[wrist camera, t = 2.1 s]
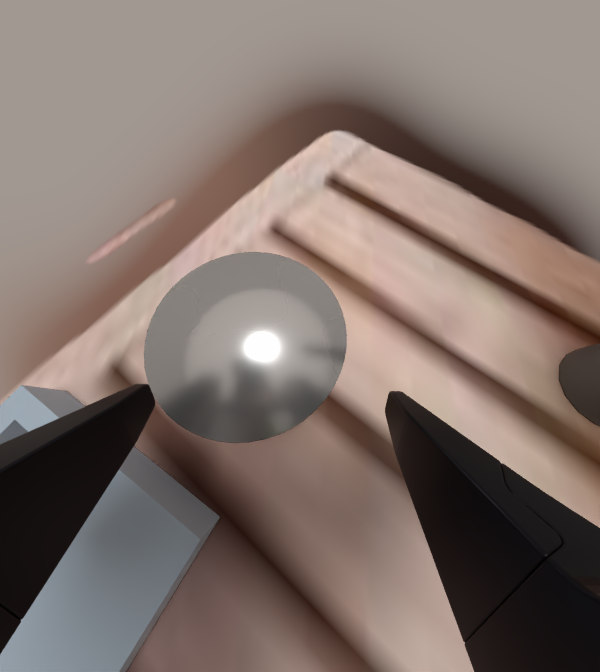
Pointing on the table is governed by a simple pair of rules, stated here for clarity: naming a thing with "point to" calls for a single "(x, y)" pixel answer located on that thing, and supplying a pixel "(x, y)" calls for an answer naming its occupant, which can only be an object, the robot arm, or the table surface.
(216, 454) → the table surface
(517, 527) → the robot arm
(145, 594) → the jig plate
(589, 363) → the candle holder
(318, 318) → the polished metal rod
